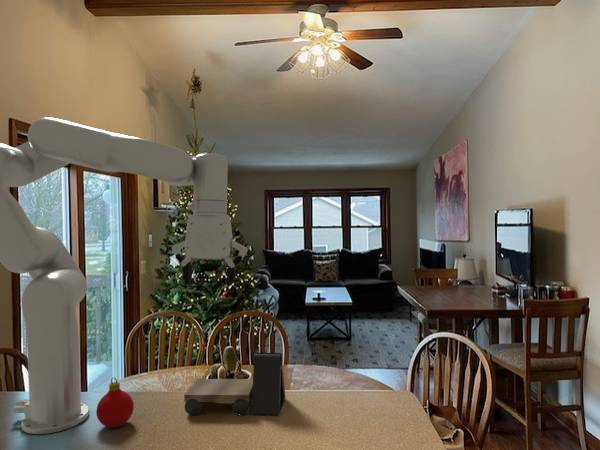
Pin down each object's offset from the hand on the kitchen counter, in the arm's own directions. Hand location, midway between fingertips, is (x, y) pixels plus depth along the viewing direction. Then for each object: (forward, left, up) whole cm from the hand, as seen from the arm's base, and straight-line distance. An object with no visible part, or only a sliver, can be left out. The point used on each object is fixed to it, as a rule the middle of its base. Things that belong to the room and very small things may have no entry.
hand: (208, 283), depth 99 cm
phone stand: (+13, -2, -28) cm, 31 cm away
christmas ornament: (-17, -11, -28) cm, 34 cm away
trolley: (+3, -2, -27) cm, 28 cm away
